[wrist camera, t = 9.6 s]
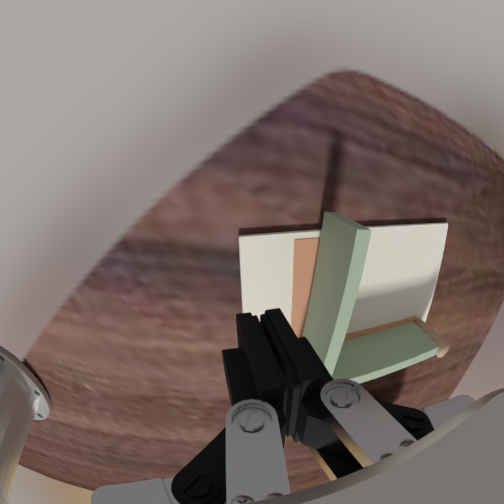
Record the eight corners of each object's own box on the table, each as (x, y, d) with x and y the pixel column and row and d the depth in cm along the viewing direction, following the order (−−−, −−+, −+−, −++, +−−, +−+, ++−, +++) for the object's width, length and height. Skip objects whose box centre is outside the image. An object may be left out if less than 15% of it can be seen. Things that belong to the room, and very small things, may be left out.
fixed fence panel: (314, 356, 23) (336, 396, 19) (316, 343, 23) (339, 383, 18) (418, 328, 25) (446, 354, 20) (422, 316, 25) (451, 342, 20)
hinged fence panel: (309, 360, 23) (327, 395, 19) (292, 362, 23) (308, 398, 19) (340, 212, 19) (375, 230, 14) (320, 211, 18) (352, 228, 14)
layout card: (248, 405, 25) (249, 408, 25) (238, 235, 19) (239, 237, 18) (407, 364, 28) (409, 366, 28) (445, 222, 22) (448, 223, 21)
